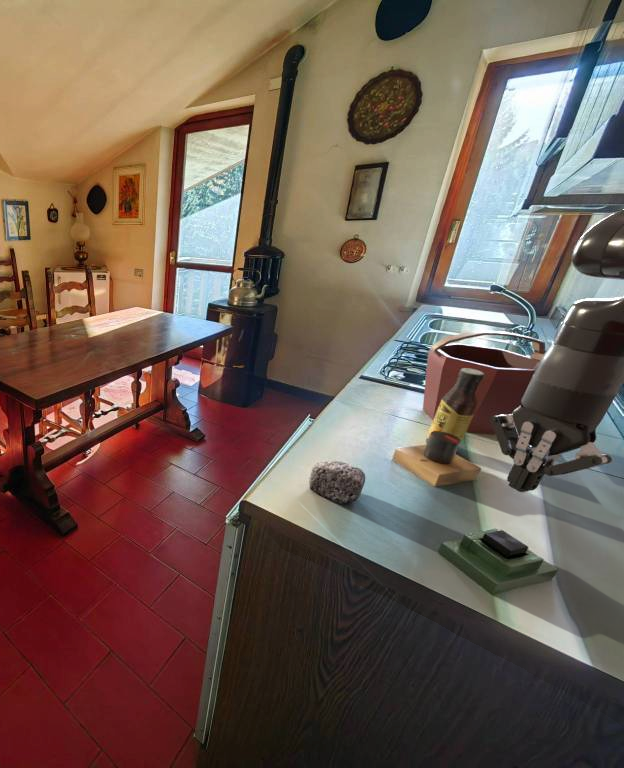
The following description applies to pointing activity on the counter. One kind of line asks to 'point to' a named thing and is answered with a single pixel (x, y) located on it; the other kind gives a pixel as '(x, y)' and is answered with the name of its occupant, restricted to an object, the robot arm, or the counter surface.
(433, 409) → the bucket
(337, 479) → the pumice stone
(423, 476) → the flat wooden block
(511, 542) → the plate
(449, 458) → the dark grey short cylinder
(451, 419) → the sauce bottle
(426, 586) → the counter surface
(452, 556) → the block
